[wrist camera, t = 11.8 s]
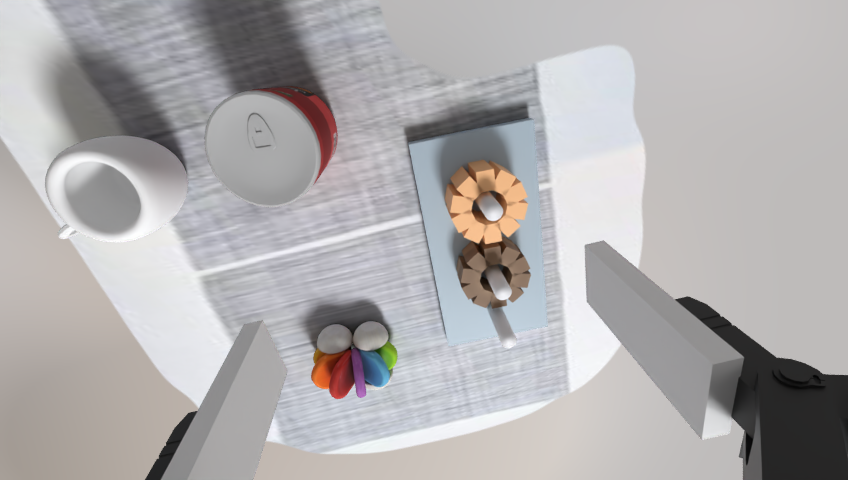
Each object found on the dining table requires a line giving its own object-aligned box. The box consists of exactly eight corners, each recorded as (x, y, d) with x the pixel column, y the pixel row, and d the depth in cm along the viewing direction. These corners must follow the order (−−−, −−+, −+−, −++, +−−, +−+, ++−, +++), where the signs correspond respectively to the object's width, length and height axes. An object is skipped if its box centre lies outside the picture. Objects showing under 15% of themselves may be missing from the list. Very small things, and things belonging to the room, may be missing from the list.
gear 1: (439, 168, 37) (444, 178, 34) (512, 153, 37) (525, 162, 34) (450, 234, 40) (456, 249, 37) (518, 220, 40) (530, 235, 37)
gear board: (407, 142, 38) (411, 157, 31) (528, 117, 38) (559, 127, 31) (446, 338, 47) (456, 383, 40) (543, 319, 47) (569, 360, 40)
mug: (149, 109, 35) (86, 118, 28) (220, 184, 38) (181, 210, 31) (60, 185, 37) (-20, 212, 30) (135, 250, 40) (78, 289, 33)
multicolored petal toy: (311, 320, 45) (297, 363, 38) (394, 313, 45) (395, 354, 39) (321, 377, 48) (310, 425, 42) (399, 370, 49) (400, 417, 42)
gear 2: (451, 242, 40) (456, 254, 38) (518, 229, 40) (528, 240, 38) (461, 298, 43) (466, 314, 40) (524, 286, 43) (533, 300, 40)
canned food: (312, 71, 35) (280, 70, 25) (353, 153, 38) (340, 182, 28) (237, 107, 35) (176, 120, 25) (284, 185, 38) (246, 224, 28)
